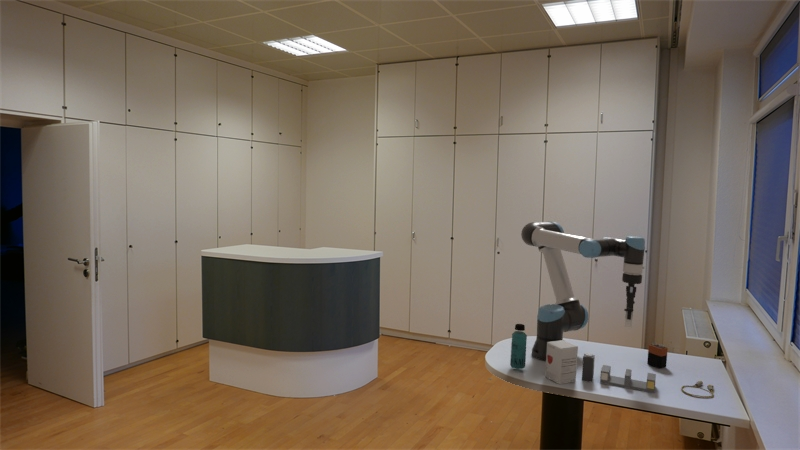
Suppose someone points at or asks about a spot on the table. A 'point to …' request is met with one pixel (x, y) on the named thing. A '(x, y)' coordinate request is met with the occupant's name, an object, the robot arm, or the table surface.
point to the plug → (588, 367)
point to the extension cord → (700, 388)
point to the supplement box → (561, 361)
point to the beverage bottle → (518, 347)
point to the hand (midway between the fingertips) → (628, 322)
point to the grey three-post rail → (628, 380)
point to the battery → (657, 355)
